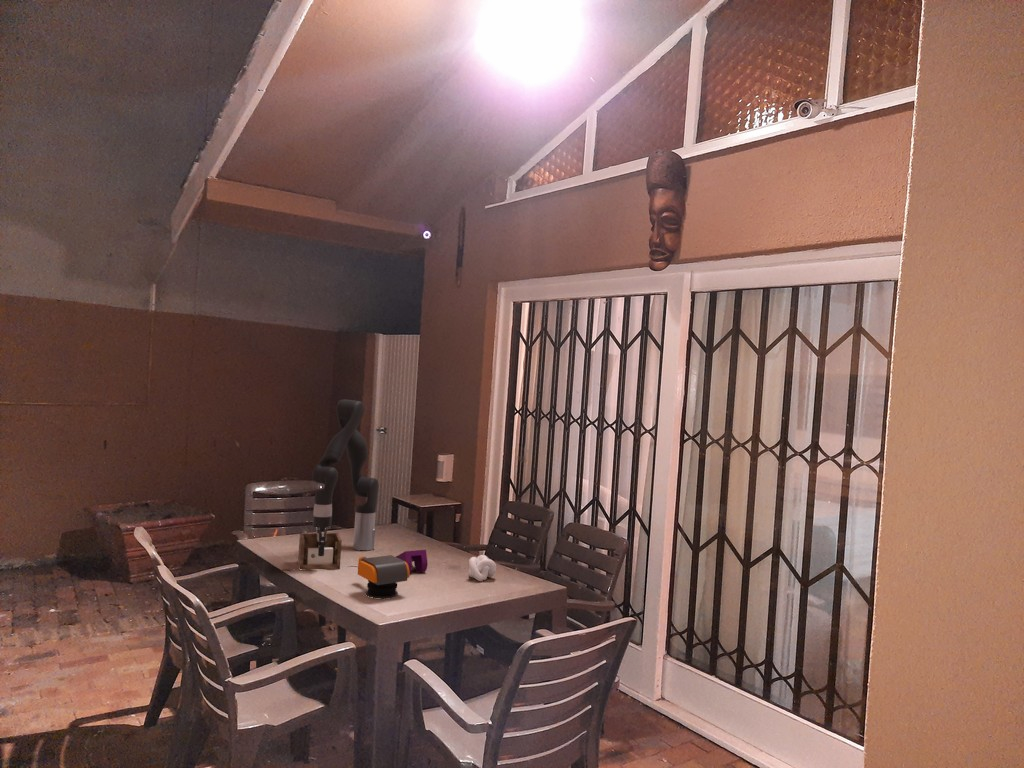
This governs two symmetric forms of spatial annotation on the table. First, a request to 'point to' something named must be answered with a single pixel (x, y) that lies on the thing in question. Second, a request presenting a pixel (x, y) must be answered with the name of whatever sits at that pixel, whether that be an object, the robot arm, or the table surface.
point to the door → (315, 559)
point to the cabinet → (311, 542)
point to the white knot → (481, 567)
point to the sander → (383, 575)
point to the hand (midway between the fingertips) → (320, 553)
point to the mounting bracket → (415, 559)
